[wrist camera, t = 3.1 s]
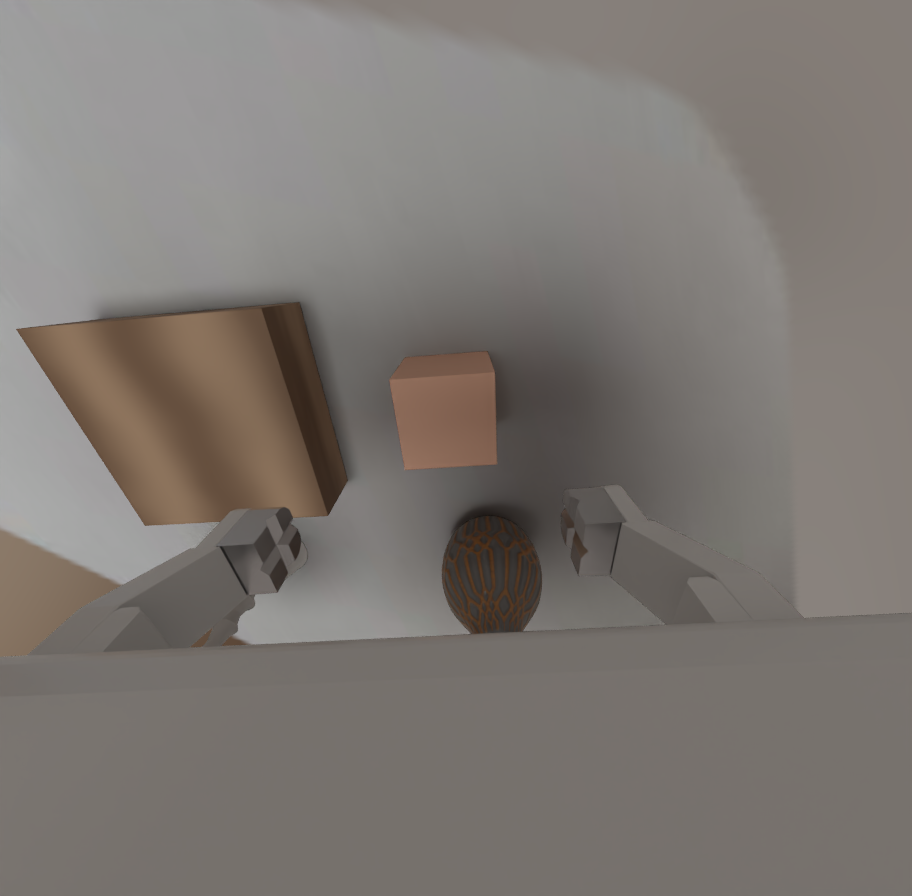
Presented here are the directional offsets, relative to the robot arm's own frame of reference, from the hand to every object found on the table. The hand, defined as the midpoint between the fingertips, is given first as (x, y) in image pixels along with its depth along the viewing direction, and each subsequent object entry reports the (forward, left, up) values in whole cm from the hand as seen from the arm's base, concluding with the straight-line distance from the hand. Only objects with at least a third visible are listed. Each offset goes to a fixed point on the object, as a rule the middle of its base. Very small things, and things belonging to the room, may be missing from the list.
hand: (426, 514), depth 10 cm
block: (0, 0, -13) cm, 13 cm away
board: (+14, 0, -12) cm, 18 cm away
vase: (-2, +12, -13) cm, 18 cm away
